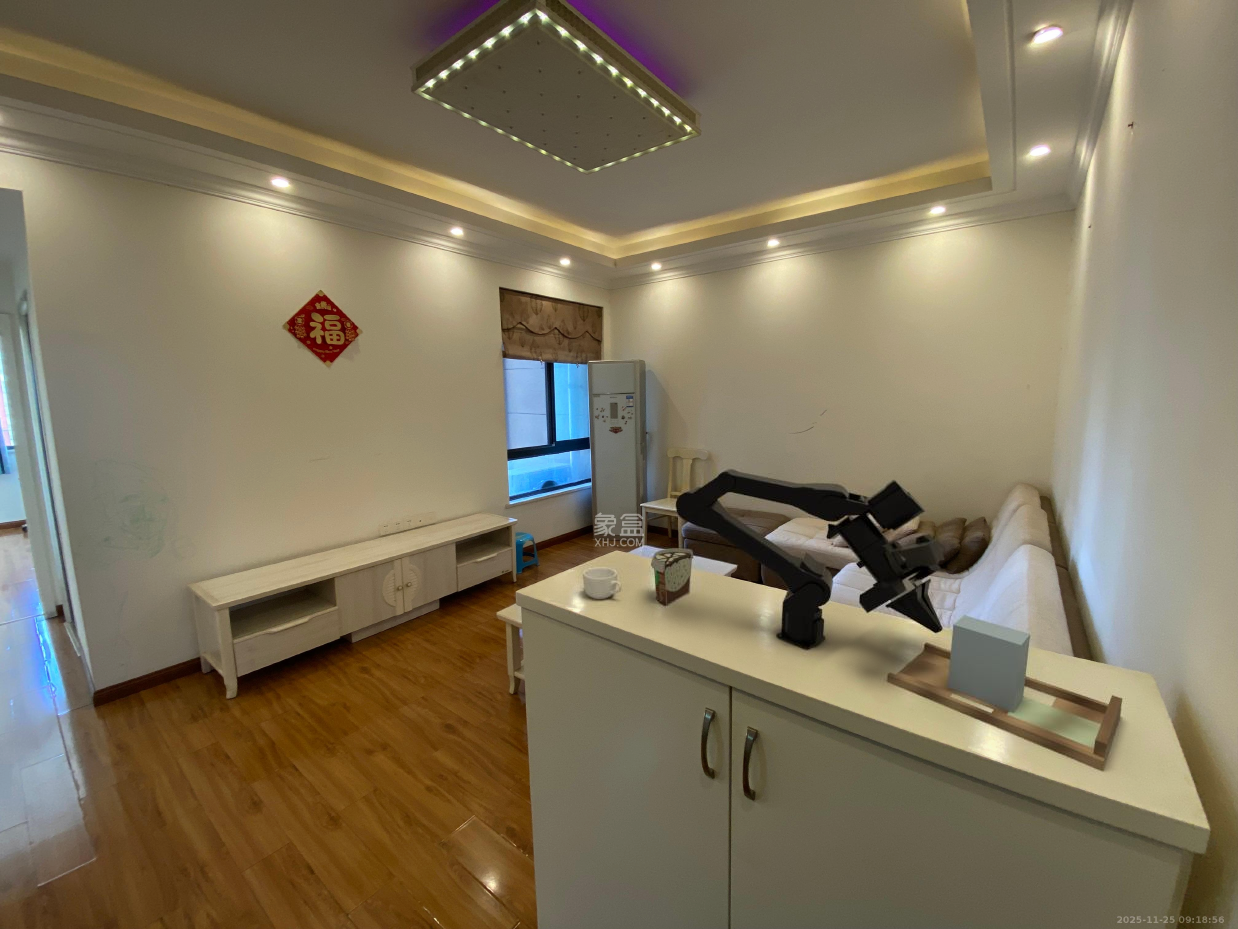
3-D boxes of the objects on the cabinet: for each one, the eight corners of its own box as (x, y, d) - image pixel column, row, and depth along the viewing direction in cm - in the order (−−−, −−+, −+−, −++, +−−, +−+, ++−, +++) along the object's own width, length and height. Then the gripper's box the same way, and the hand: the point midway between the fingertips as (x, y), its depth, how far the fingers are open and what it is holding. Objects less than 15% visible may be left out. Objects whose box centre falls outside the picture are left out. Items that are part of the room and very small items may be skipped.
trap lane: (886, 687, 76) (888, 663, 76) (925, 654, 86) (927, 632, 86) (1101, 778, 58) (1105, 747, 58) (1119, 723, 68) (1123, 696, 67)
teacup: (575, 596, 112) (575, 573, 111) (598, 586, 118) (598, 564, 117) (609, 608, 106) (609, 583, 105) (631, 596, 112) (631, 573, 111)
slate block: (947, 687, 75) (953, 624, 73) (958, 675, 78) (964, 615, 77) (1013, 713, 69) (1021, 645, 67) (1022, 699, 72) (1030, 634, 70)
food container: (670, 585, 119) (671, 544, 117) (692, 591, 115) (693, 549, 113) (639, 601, 109) (639, 557, 108) (662, 608, 105) (663, 563, 104)
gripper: (885, 530, 73) (966, 627, 66) (931, 511, 85) (1004, 592, 78) (830, 568, 80) (899, 659, 73) (880, 546, 92) (943, 622, 85)
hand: (939, 631), depth 77 cm, fingers closed
